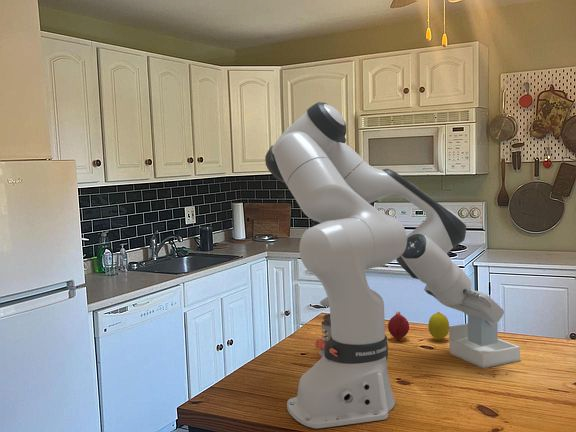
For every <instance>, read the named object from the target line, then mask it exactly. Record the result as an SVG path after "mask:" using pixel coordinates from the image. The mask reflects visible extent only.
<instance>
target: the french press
mask: <svg viewBox="0 0 576 432" xmlns="http://www.w3.org/2000/svg"><path fill="white" fill-rule="evenodd" d="M319 304H320V305H321V306H323V307H326V308H330V306H329V300H328V297H325V298H322V300H320V302H319ZM322 320H323V321H321V329H323V330H321V333H322V334H321V339H322V340H323V341H325V342H326V343H327V342H328V340H329V338H330V336H331V318H330V313H328V314H324V315H323V316H322ZM318 354H319V355H320V357H321V358H322V357H323V356H324V350H319V352H318Z"/></svg>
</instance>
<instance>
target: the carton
mask: <svg viewBox="0 0 576 432" xmlns="http://www.w3.org/2000/svg"><path fill="white" fill-rule="evenodd" d="M496 303H497V302H496ZM497 304H498V305H499V303H497ZM485 321H486V320H484V319H481V318H478V317H476V316H473V315H470V314H468V315H467V323H468V341H470V342H473V343H475V344H477V345H480V346H485V345H490V344H495V343H498V339H499V338H498V336H499V335H498V334H499V333H498V331H499V330H498V326H499V325H498V324H499V322H498V323H496V324H495V326H494V327H493V326H490V325H488V324H487V323H486V322H485Z"/></svg>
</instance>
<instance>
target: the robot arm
mask: <svg viewBox="0 0 576 432" xmlns="http://www.w3.org/2000/svg"><path fill="white" fill-rule="evenodd" d="M346 123H347V122H346V121H345V119H344V118H343V115H342V114H341V112H340V111H339V110H338V109H336V108H335V107H334V106H332V105H331V104H328V103H327V102H320V101H319V102H318V101H317V102H316V103H314V104H313V105H311V106H310V107H309V108H307V109H306V112H305V113H303V114H302V115H300V116H299V117H298V118H297V119H296V120H295V121H294V122H293V123H292V124H290V126H288V127H287V128H286V129H285V130H284V131H283V132H282V134H281V135H280V136H279V137H278V139H277V140H276V141H275V143H274V144H273V145H270V147H269V149H268V150H267V152H266V155H265V166H266V169H267V170H268V171H269V173H270V174H271V175H272V176H273V177H274V178H275V179H277V180H278V181H280V182H282V183H285V185H286V187H287V188H288V190H289V191H290V193H291V195H292V196H293V198H294V199H295V201H296V203H297V204H298V206H299V208H300V210H301V211H302V212H303V213H304V215H306V217H308V218H309V219H311V220H313V221H314V222H318V224H316V225H313V226H311V227H308V229H306V230H304V232H303V233H302V236H301V237H300V240H299V241H300V242H299V257H300V260H301V262H302V264H303V266H304V267H305V268H306V270H307V271H308V272H309V273H310V274H312V275H314V276H315V278H317V279H318V280H319V282H320V283H321V285H322V287H323V289H324V291H325V293H326V296H327V297H328V300H329V306H330V307H329V314H330V318H331V336H330V338H329V340H328V342H325V341H323V340H324V339H323V338H317V339H315V341H314V346H315V348H316V349H318V350H319V351H321V350H324V356H323V357H322V356H321V358H320V359H319V360H318V361H317V362H316V363H314V365H312V366H311V367H310V368H309V369H308V370H307V371H306V372H305V373H304V374H302V375H301V376H300V379H299V382H298V386H297V394H296V396H295V397H291V398H289V399H288V400H287V402H286V409H287V412H288V413H289V415H290V416H291V417H292V418H293V419H295V421H296V422H298V423H300V424H301V425H303V426H305V427H308V428H311V429H324V428H325V429H326V428H333V427H339V426H346V425H354V424H355V425H356V424H363V423H368V422H376V421H383V420H387V419H388V418H389V412H390V411H391V410H392V409H393V408H394V406H395V405H396V400H395V397H394V393H393V390H392V387H391V382H390V377H389V372H388V371H389V370H388V363H387V361H388V356H389V348H388V346H389V344H388V335H386V327H385V325H386V324H385V323H386V322H385V321H386V320H385V317H386V316H385V302H384V298H383V297H382V296H381V295H380V294H379V293H378V292H377V291H376V290H373V289H372V288H370V285H369V284H368V280H367V278H366V277H367V276H366V270H369V269H374V268H375V269H376V268H379V267H383V266H386V265H388V264H390V263H392V262H393V261H395V260H396V261H397V264H399V266H400V267H401V268H402V269H403V270H404V271H405V272H406V273H407V274H408V275H409V276H410V277H411V278H412V279H417V280H419V281H420V282H422V283H424V284H425V287H424V288H423V290H424V291H425V293H427V294H428V295H429V296H432V297H433V298H434V299H436V301H438V302H439V303H440V304H442V305H444V306H445V307H448V308H451V309H454V310H456V311H459V312H462V313H464V314H465V315H466V316H468V314H470V315H473V316H476V317H478V318H481V319H484V320H486V321H485V322H486V323H487V324H488V325H490V326H493V327H494V326H495V324H496V323H498V324H499V322H500V321H501V319H502V318H503V316H504V314H505V312H504V309H503V308H502V307H501V306H500V305H499V303H498V304H497V302H496V301H495V300H494V299H493V298H491V296H489V295H488V294H486V293H485V292H482V291H479V290H475V289H472V279H471V278H470V277H469V276H468V275H467V274H466V273H465V272H464V271H463V269H462V268H460V266H458V264H456V263H454V262H453V261H452V260H451V258H450V256H449V255H448V253H449V252H450V251H451V250H452V249H454V248H456V247H457V246H458V245H460V244H462V243H463V242H464V241H465V238H466V232H467V224H465V221H464V220H463V219H462V217H460V216H459V215H458V214H457V213H456V212H454V211H453V210H451V209H450V208H446V206H444V205H441V204H440V203H438V202H437V201H436V200H435V199H433V198H432V197H431V196H429V195H428V194H427V193H425V192H424V191H423V190H421V189H420V188H419V187H418V186H416V185H415V184H414V183H412V181H409V180H408V179H406V178H405V177H403V176H402V175H401V174H399V173H397V172H396V171H395V170H392V169H389V168H384V169H378V168H376V167H374V166H372V165H371V164H369V163H368V162H367V161H365V160H364V159H363V157H362V156H361V155H359V153H357V152H356V151H355V150H354V149H353V147H351V146H349V145H348V144H347V143H346V142H347V139H346V134H347V124H346ZM390 196H399V197H402V198H404V199H406V201H408V202H409V203H411V204H412V205H414V206H415V207H416V208H418V209H419V210H420V211H422V212H423V213H424V214H426V218H425V219H424V220H423V222H421V223H420V224H419V225H418V226H416V227H415V229H414V230H412V231H411V232H409V234H408V235H407V232H406V229H405V227H404V224H403V223H402V222H401V221H400V220H399V219H397V218H396V217H394V216H392V215H388V214H386V213H385V212H382V211H381V210H379V209H378V208H376V207H374V206H373V204H372V205H371V203H374V202H376V201H379V200H381V199H384V198H387V197H390ZM327 297H326V298H327Z"/></svg>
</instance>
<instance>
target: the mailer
mask: <svg viewBox="0 0 576 432" xmlns="http://www.w3.org/2000/svg"><path fill="white" fill-rule="evenodd" d="M448 339H449V354H450V355H452V356H454V357H457V358H459V359H461V360H463V361H465V362H468V363H470V364H472V365H474V366H476V367H478V368H481V369H483V370H484V369H488V368H493V367H498V366H503V365H507V364H510V363H511V364H512V363H515V362H519V361H521V346H519V345H516V344H513V343H512V342H510V341H509V342H508V341H506V340H504V339H500V338H498V343H495V344H490V345H485V346H480V345H477V344H475V343H473V342H470V341H468V322H467V323H462V324H457V325H451V326H450V325H449V332H448Z"/></svg>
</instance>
